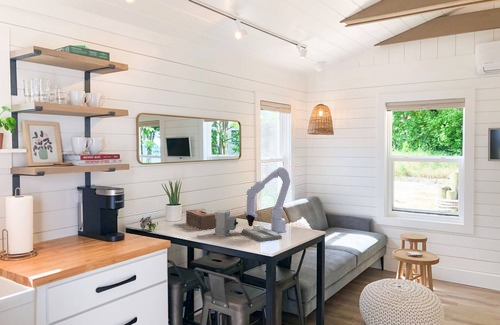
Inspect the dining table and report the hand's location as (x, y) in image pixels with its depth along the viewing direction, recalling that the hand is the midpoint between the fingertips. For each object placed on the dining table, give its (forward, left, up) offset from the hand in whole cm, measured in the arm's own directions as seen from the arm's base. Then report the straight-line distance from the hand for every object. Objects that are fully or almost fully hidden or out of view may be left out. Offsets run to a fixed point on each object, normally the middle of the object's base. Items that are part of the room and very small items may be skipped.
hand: (250, 226), depth 264 cm
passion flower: (+61, -35, -4) cm, 70 cm away
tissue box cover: (+22, -31, -4) cm, 38 cm away
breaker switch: (0, +8, -2) cm, 8 cm away
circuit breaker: (+18, 0, -4) cm, 18 cm away
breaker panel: (0, +14, -4) cm, 14 cm away
